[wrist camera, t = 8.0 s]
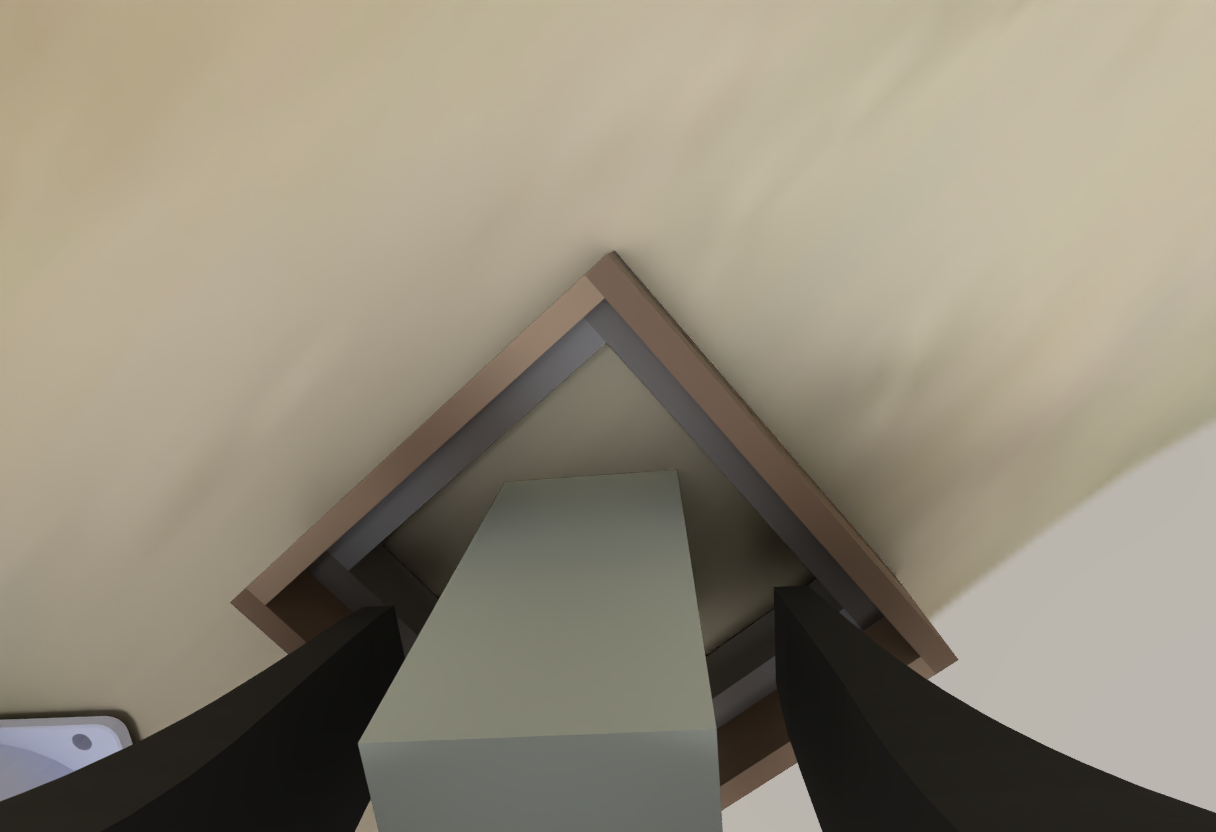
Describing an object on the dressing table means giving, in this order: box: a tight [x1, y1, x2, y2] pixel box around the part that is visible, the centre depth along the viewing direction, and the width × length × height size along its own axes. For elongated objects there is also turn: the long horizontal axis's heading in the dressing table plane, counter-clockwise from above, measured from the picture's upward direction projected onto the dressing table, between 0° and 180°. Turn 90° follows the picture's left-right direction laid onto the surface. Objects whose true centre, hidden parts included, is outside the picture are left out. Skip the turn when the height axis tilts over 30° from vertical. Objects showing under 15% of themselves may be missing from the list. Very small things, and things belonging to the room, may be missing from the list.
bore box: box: [230, 251, 958, 811], centre depth 14 cm, size 10×10×3 cm
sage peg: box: [358, 470, 723, 832], centre depth 11 cm, size 4×4×8 cm
